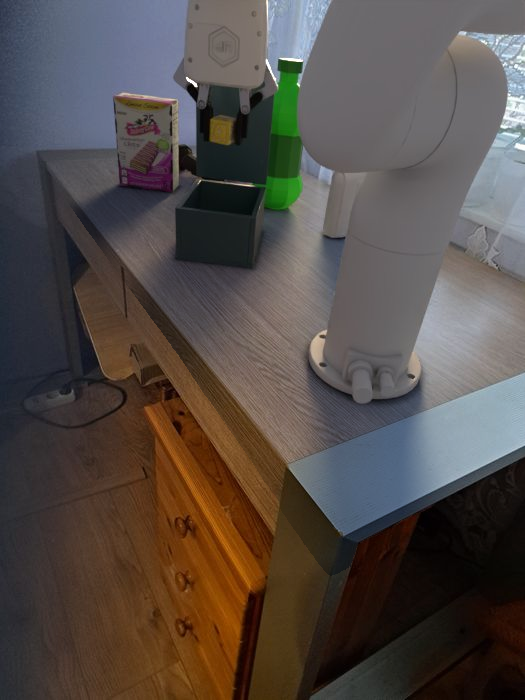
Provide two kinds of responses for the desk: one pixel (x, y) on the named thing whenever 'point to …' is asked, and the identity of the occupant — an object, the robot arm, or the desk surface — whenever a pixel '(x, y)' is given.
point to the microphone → (189, 161)
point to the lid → (233, 159)
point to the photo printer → (341, 202)
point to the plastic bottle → (285, 140)
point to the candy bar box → (147, 141)
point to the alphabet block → (222, 130)
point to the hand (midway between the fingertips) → (223, 140)
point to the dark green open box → (220, 223)
